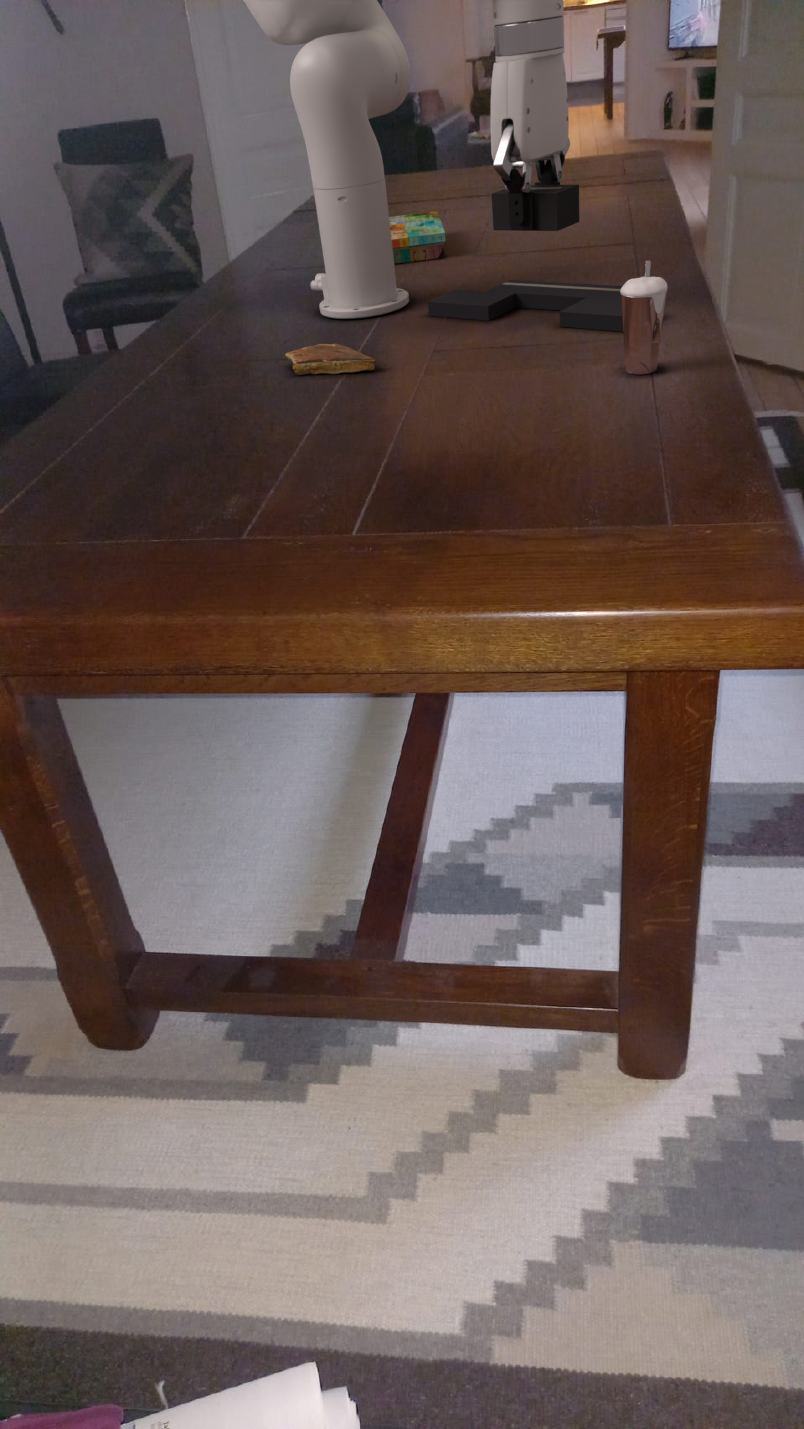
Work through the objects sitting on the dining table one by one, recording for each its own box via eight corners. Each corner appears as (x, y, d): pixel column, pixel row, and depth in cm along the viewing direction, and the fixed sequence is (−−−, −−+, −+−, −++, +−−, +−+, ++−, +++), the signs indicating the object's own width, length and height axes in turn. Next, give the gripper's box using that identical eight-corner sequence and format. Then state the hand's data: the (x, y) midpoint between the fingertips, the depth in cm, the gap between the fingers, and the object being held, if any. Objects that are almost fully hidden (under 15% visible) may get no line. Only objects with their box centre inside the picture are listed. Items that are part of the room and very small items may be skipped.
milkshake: (667, 360, 104) (671, 259, 98) (660, 377, 100) (665, 272, 94) (623, 361, 106) (625, 261, 100) (615, 377, 102) (617, 274, 96)
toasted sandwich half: (378, 372, 112) (376, 356, 111) (318, 389, 110) (316, 372, 109) (336, 354, 120) (334, 338, 119) (280, 369, 118) (277, 354, 117)
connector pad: (493, 230, 119) (491, 192, 116) (515, 221, 122) (514, 184, 119) (557, 231, 114) (556, 191, 111) (579, 222, 117) (579, 183, 114)
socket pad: (428, 316, 130) (427, 300, 129) (481, 291, 138) (480, 277, 136) (631, 333, 114) (632, 316, 113) (679, 304, 121) (680, 288, 120)
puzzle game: (371, 236, 155) (370, 215, 172) (375, 267, 158) (374, 244, 174) (444, 226, 155) (437, 206, 171) (447, 258, 158) (439, 235, 174)
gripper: (541, 37, 114) (546, 209, 125) (456, 53, 104) (469, 240, 115) (598, 30, 110) (598, 209, 121) (515, 47, 100) (523, 241, 110)
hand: (535, 222), depth 117 cm, fingers closed on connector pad, 5 cm apart
